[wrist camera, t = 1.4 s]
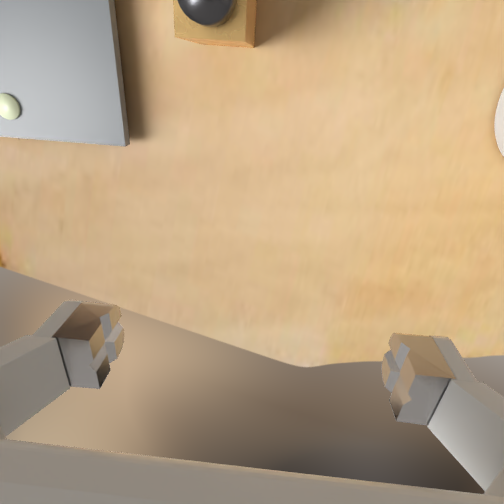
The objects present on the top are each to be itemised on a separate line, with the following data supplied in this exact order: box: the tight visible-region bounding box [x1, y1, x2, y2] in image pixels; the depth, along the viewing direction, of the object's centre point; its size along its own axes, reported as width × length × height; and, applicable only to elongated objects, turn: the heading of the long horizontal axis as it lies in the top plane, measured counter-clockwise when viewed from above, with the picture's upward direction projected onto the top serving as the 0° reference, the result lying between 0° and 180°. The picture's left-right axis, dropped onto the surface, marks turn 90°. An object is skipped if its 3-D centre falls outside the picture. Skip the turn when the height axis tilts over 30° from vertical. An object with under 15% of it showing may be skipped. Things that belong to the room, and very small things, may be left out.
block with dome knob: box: [173, 0, 257, 48], centre depth 26 cm, size 5×5×11 cm
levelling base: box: [0, 0, 130, 146], centre depth 32 cm, size 14×16×2 cm
